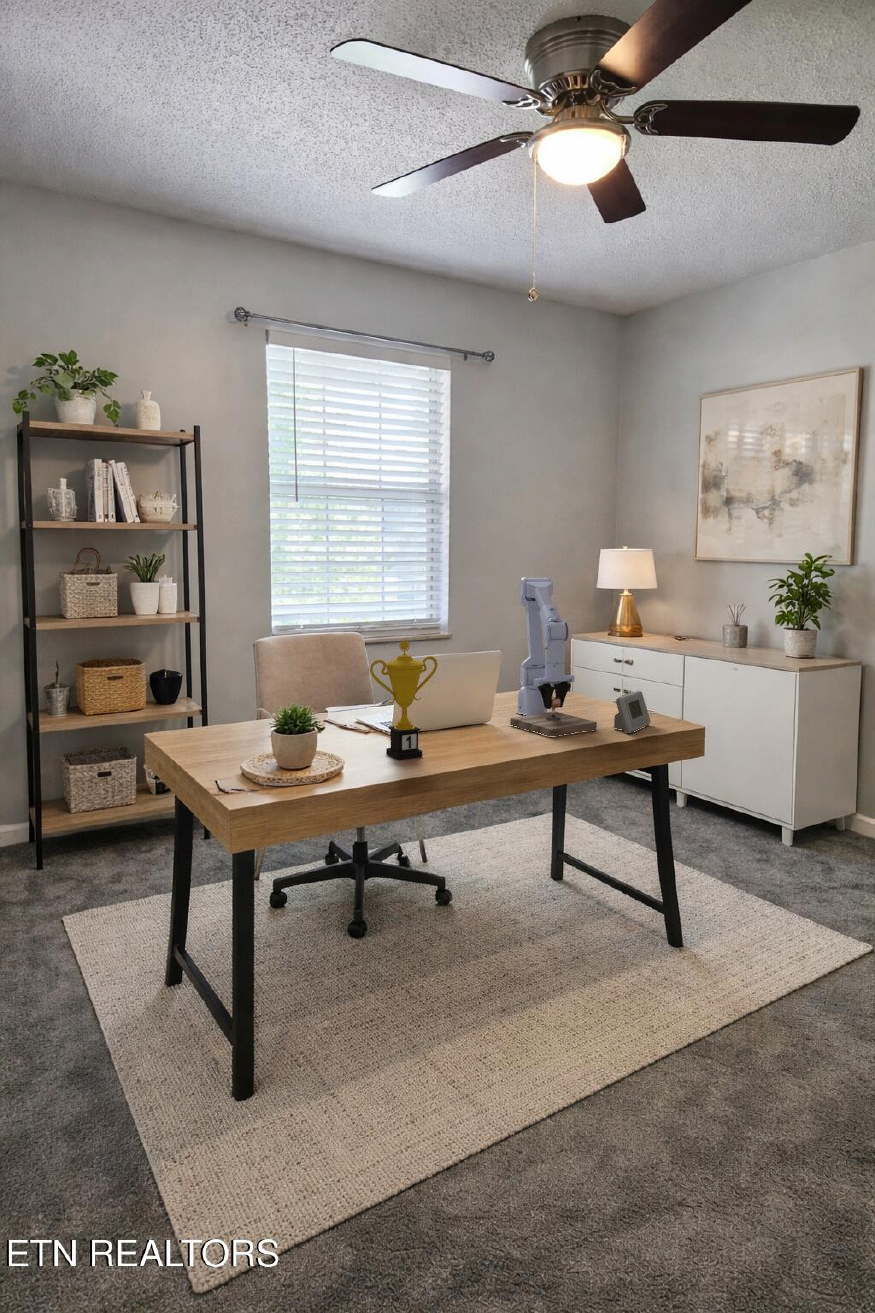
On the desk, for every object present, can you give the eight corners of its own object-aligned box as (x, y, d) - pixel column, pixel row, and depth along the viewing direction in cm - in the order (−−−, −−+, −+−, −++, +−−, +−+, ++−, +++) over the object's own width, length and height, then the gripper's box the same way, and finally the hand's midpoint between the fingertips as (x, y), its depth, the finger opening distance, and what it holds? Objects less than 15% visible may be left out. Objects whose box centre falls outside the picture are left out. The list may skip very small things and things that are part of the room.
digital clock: (629, 735, 231) (630, 699, 230) (603, 730, 238) (604, 694, 237) (659, 727, 242) (661, 692, 241) (634, 722, 249) (635, 688, 247)
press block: (510, 726, 242) (510, 714, 242) (554, 719, 252) (555, 708, 252) (550, 738, 227) (551, 726, 227) (596, 730, 237) (596, 718, 237)
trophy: (378, 764, 198) (378, 644, 194) (362, 755, 207) (361, 639, 202) (445, 755, 208) (447, 640, 204) (427, 747, 216) (428, 636, 212)
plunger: (543, 717, 240) (544, 697, 239) (553, 715, 242) (554, 696, 241) (552, 719, 236) (553, 699, 236) (562, 718, 239) (563, 698, 238)
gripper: (545, 666, 230) (544, 712, 231) (582, 662, 238) (580, 707, 240) (529, 663, 235) (528, 708, 237) (565, 659, 243) (564, 703, 245)
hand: (553, 707), depth 239 cm, fingers closed on plunger, 4 cm apart
